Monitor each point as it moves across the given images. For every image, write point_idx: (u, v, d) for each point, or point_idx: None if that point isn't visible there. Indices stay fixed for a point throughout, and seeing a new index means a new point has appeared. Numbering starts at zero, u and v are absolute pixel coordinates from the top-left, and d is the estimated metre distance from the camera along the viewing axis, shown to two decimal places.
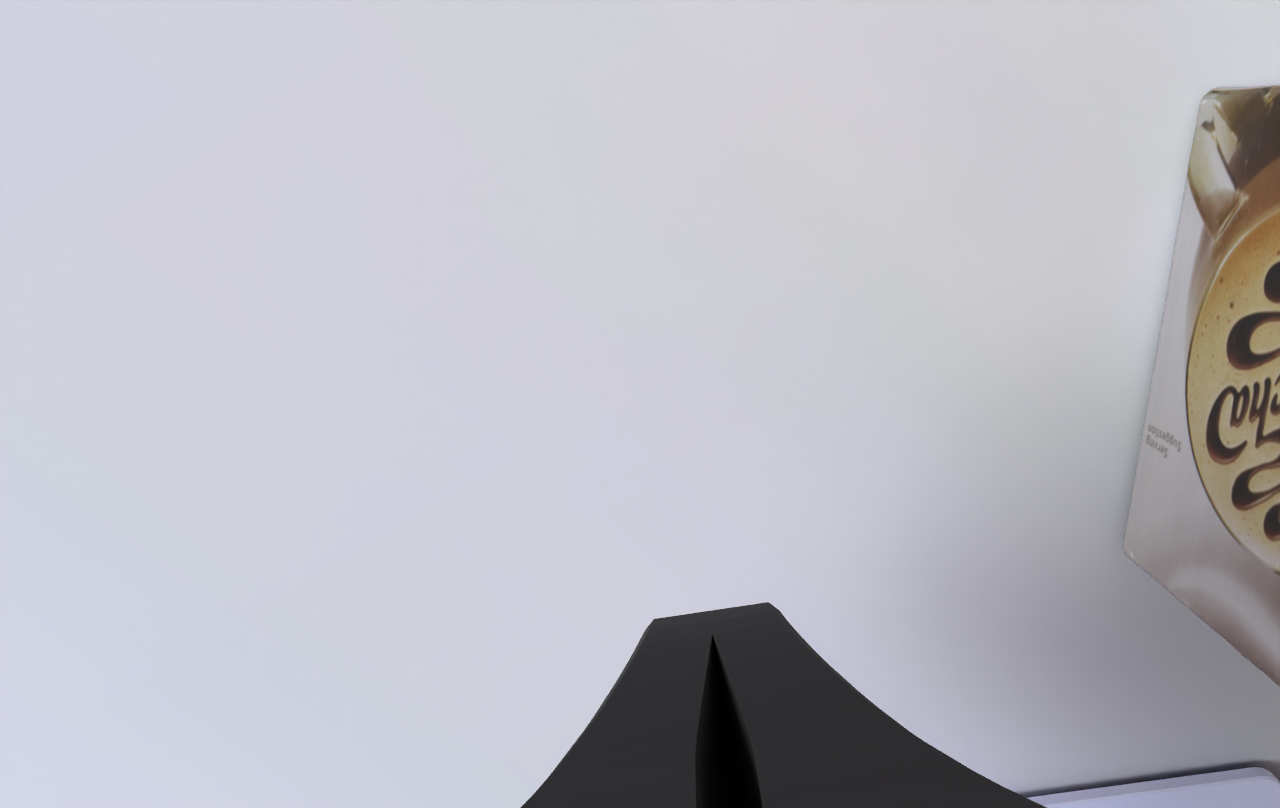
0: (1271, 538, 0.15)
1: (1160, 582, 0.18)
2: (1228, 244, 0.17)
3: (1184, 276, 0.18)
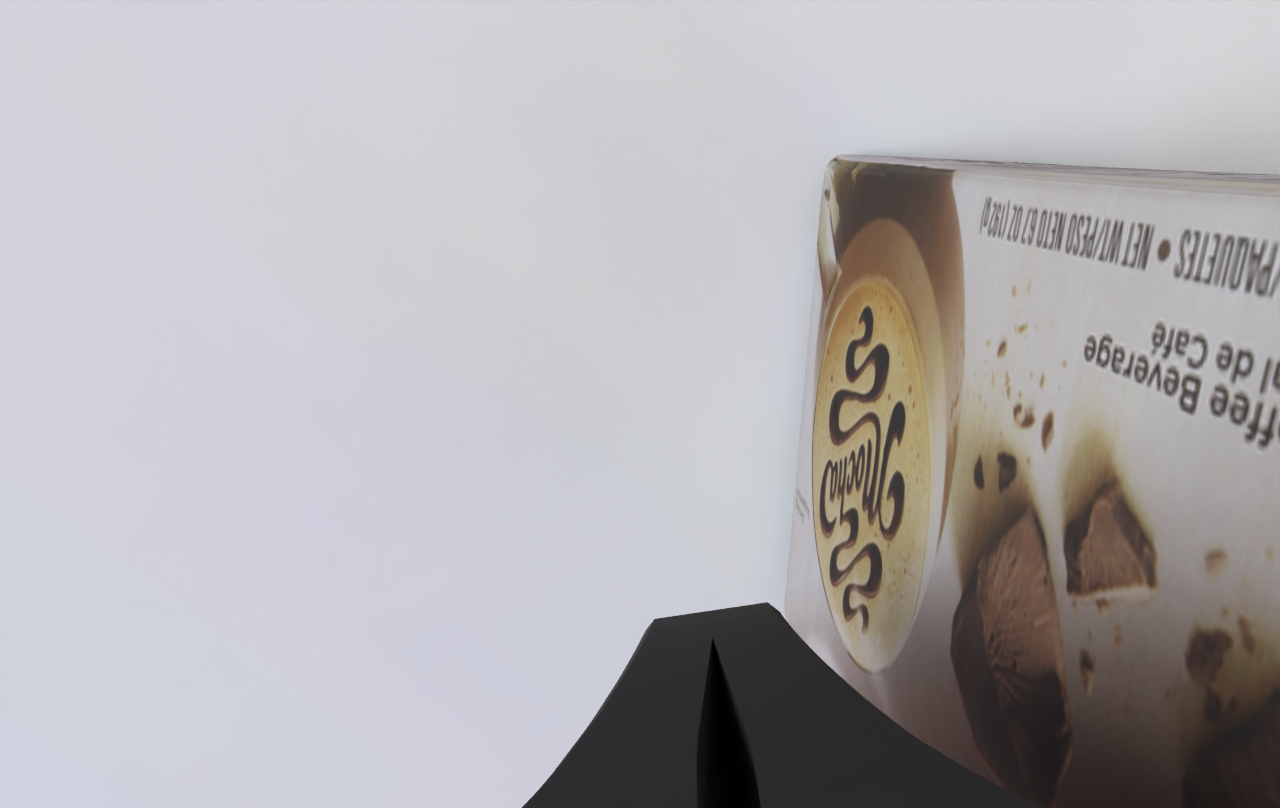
0: (845, 618, 0.15)
1: None
2: (831, 317, 0.17)
3: (813, 343, 0.18)
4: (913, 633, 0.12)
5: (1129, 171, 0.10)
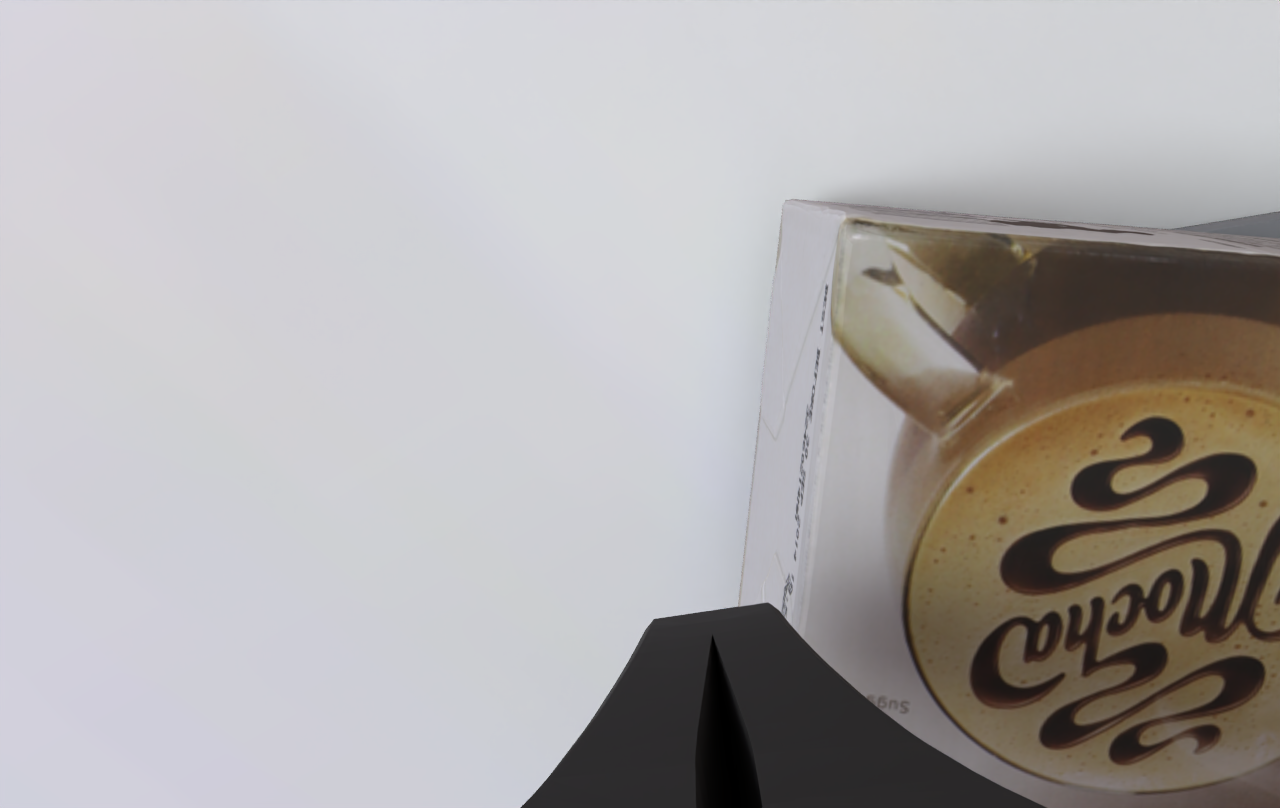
0: (1124, 763, 0.13)
1: None
2: (976, 443, 0.12)
3: (866, 489, 0.12)
4: None
5: None
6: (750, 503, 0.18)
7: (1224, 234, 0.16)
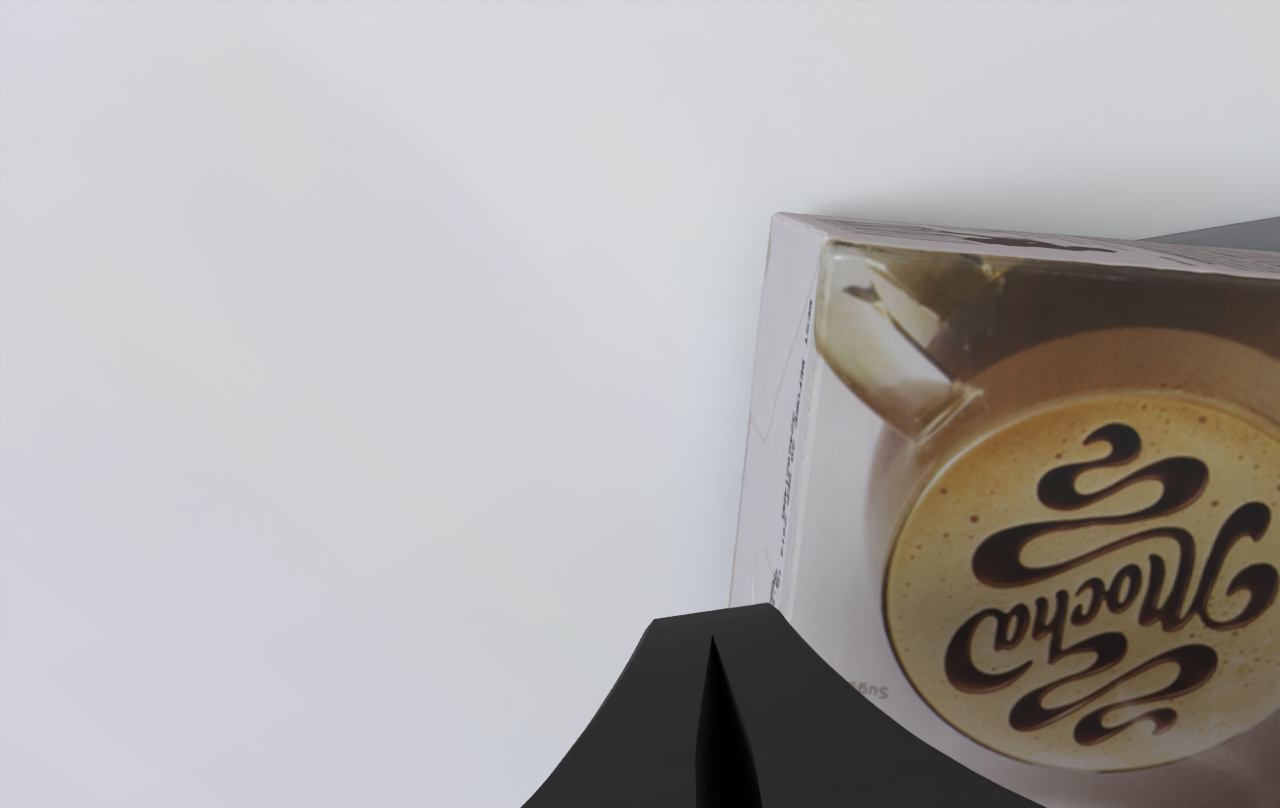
0: (1088, 744, 0.14)
1: None
2: (949, 448, 0.13)
3: (847, 490, 0.13)
4: None
5: None
6: (741, 500, 0.19)
7: (1187, 247, 0.17)
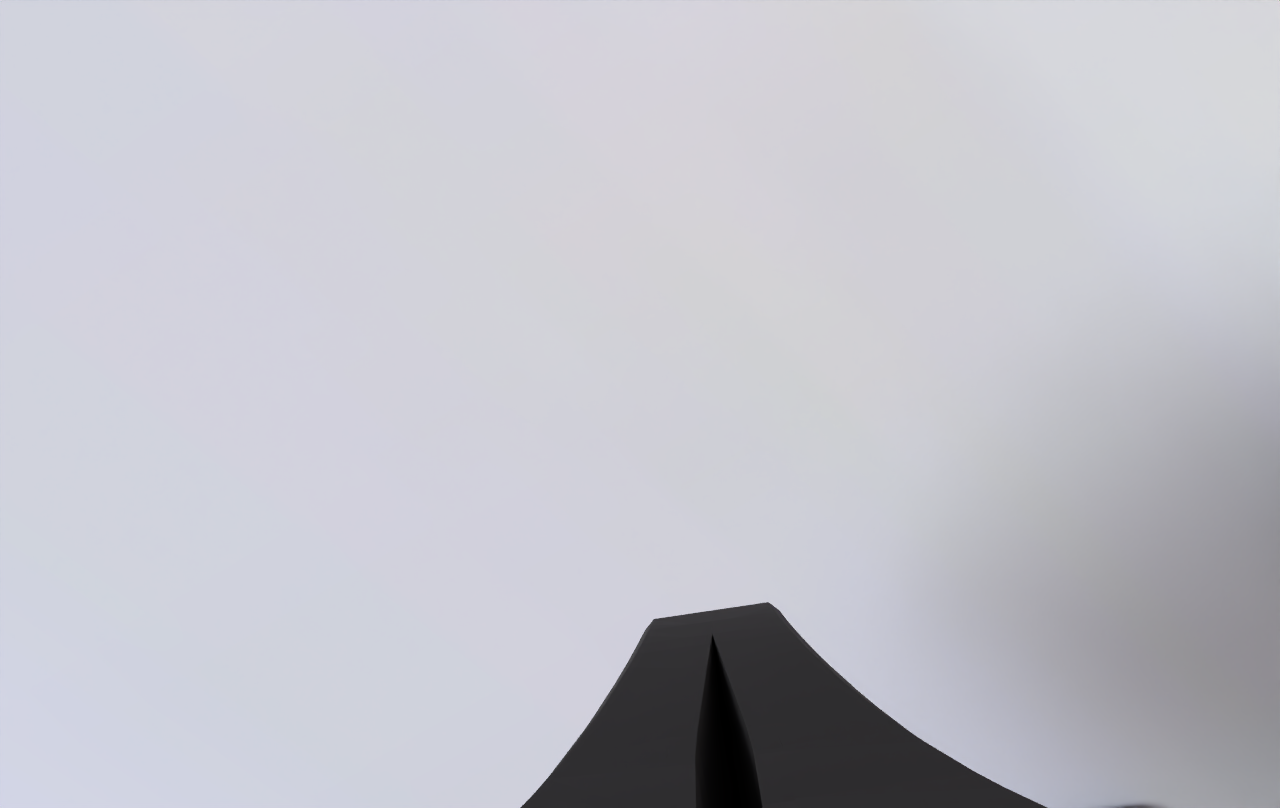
0: None
1: None
2: None
3: None
4: None
5: None
6: None
7: None
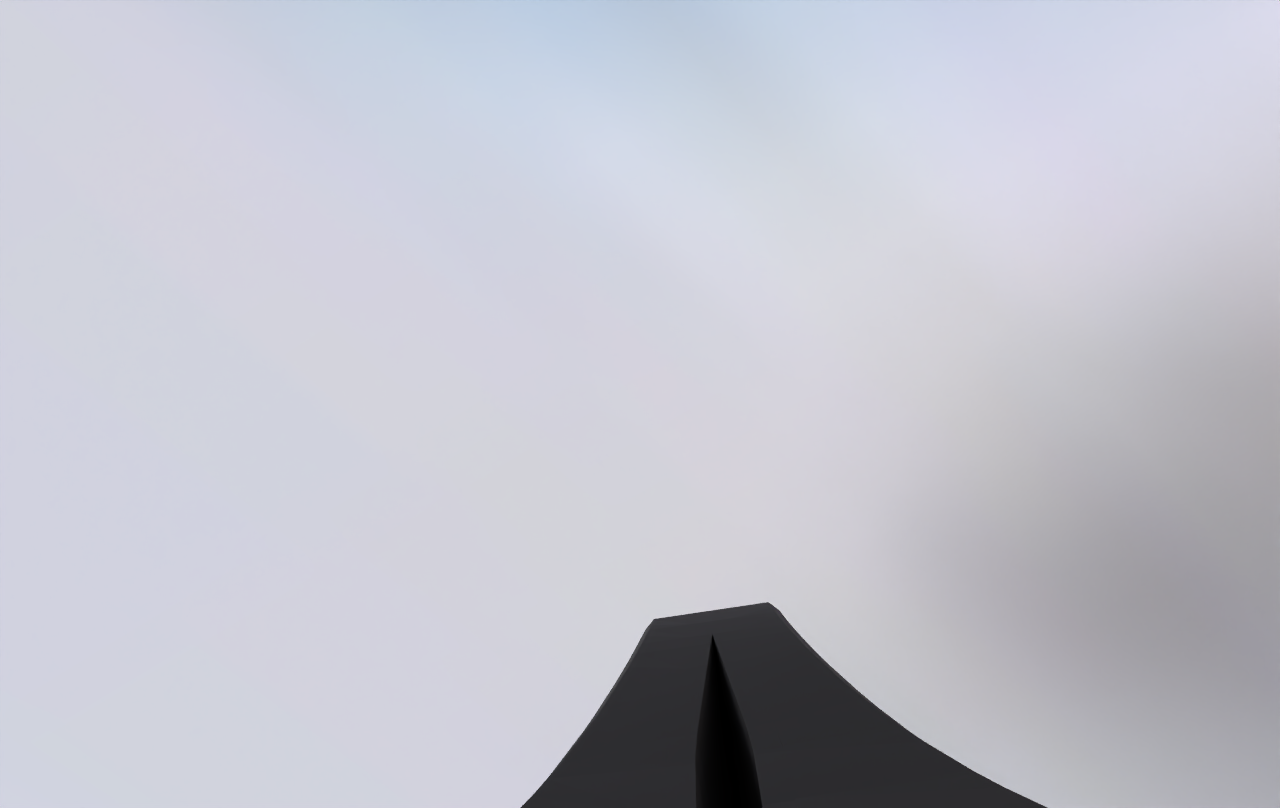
0: None
1: None
2: None
3: None
4: None
5: None
6: None
7: None
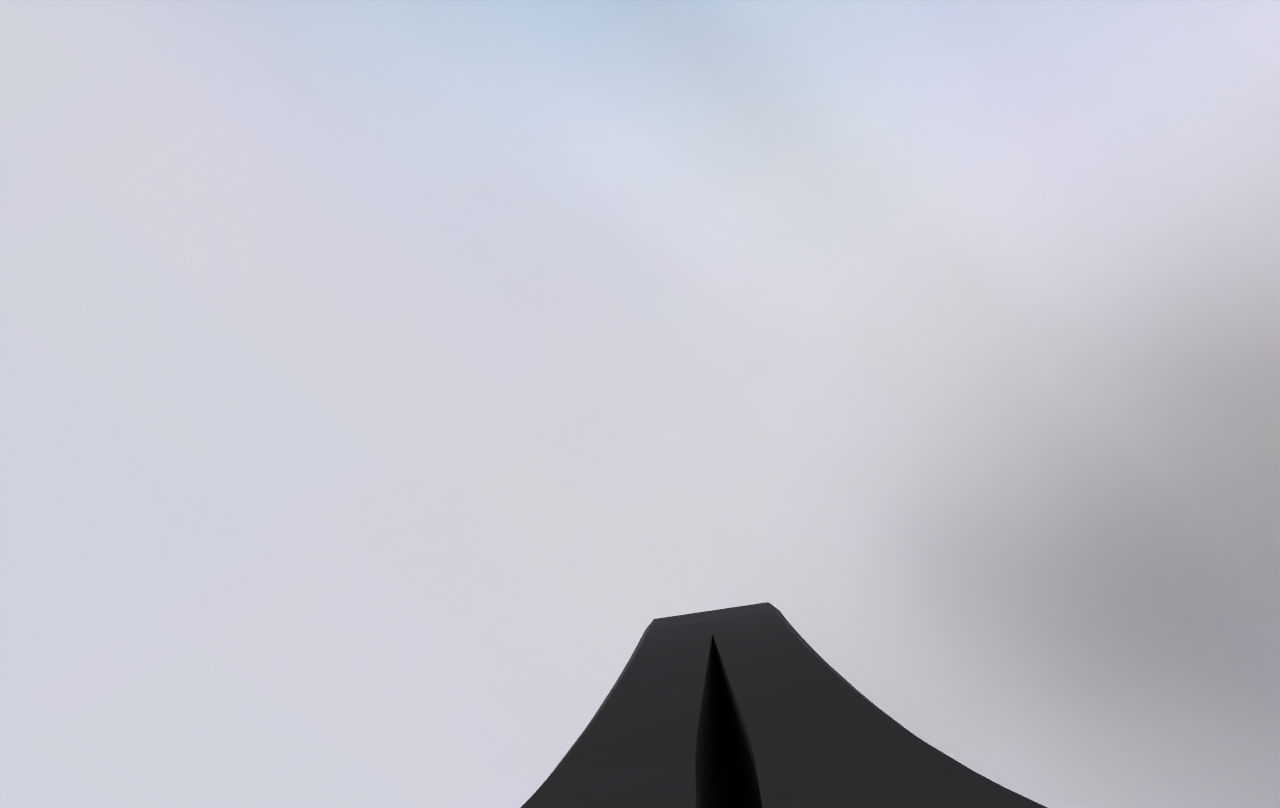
0: None
1: None
2: None
3: None
4: None
5: None
6: None
7: None
